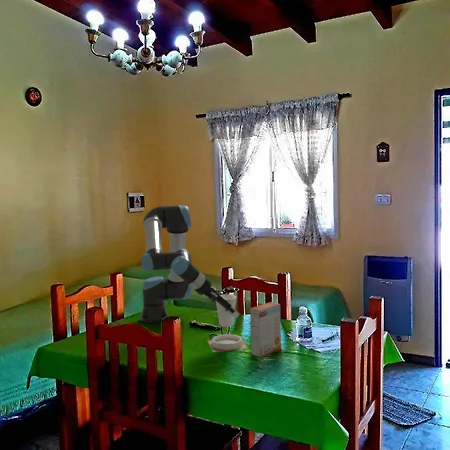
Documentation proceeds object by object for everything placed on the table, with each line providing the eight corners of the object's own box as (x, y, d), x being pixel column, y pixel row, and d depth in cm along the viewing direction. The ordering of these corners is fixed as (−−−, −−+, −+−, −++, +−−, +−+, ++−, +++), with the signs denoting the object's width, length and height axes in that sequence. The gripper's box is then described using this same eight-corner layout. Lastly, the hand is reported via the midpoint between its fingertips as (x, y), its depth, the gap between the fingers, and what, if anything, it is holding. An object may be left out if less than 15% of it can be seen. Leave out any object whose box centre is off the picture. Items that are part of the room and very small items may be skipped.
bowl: (210, 340, 219) (210, 335, 219) (238, 338, 222) (238, 333, 222) (215, 350, 206) (214, 345, 206) (244, 348, 209) (244, 342, 208)
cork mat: (207, 341, 220) (207, 340, 220) (240, 338, 223) (240, 337, 223) (212, 353, 205) (212, 352, 205) (248, 349, 208) (248, 348, 208)
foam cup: (234, 328, 207) (233, 299, 206) (214, 327, 209) (213, 299, 208) (238, 322, 217) (237, 294, 216) (218, 321, 219) (218, 294, 217)
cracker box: (271, 346, 211) (270, 301, 209) (281, 349, 207) (281, 303, 205) (250, 354, 201) (249, 307, 200) (261, 358, 197) (260, 310, 195)
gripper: (185, 285, 215) (217, 314, 223) (204, 294, 195) (238, 326, 203) (195, 272, 217) (227, 302, 225) (215, 281, 197) (249, 312, 205)
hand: (232, 313), depth 214 cm, fingers closed on foam cup, 9 cm apart
